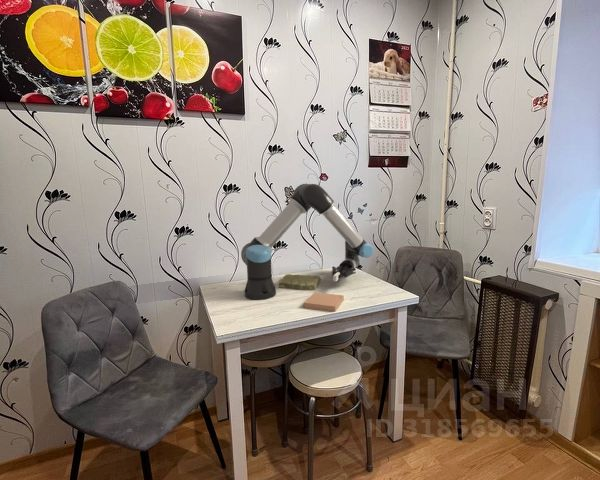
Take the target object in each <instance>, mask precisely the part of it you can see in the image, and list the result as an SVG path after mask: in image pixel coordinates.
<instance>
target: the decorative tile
mask: <svg viewBox="0 0 600 480" xmlns="http://www.w3.org/2000/svg"><path fill="white" fill-rule="evenodd" d="M321 279H322V278H321V275H313V274H311V275H310V274H291V273H287V274H285V275H284V276H283V277H282V278H281V279H280V281H279V283H278V289H289V290H299V291H316V290H317V288H318V286H319V285H320V282H321Z"/></svg>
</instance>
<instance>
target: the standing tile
mask: <svg viewBox="0 0 600 480" xmlns="http://www.w3.org/2000/svg"><path fill="white" fill-rule="evenodd" d="M344 301H345V295H341V294H335V293H334V294H333V293H332V294H331V293H326V292H325V293H324V292H314V293H312V294H311V295H310V296H309V297H308V298H307V299H306V300H305V301H304V302H303V308H305V309H313V310H319V311H327V312H335V313H336V312H337V310H338V309H339V308H340V307H341V305H342V303H343V302H344Z"/></svg>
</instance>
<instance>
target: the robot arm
mask: <svg viewBox="0 0 600 480" xmlns="http://www.w3.org/2000/svg"><path fill="white" fill-rule="evenodd" d="M311 208H312V209H314V210H315V211H316V212H317V213H318V214H319V215H322V216H323V217H324V218H325V219H326V220H327V221H328V222H329V223H330V224H331V226H332V227H333V228H334V229H335V231H337V233H338V234H340V236H341V237H342V238H343V239H344V240H345V241H344V247H345V248H344V250H345V255H344V257H345V258H344V260H342V261H341V262H340V264H339V265H338V266H332V268H331V269H332V270H331V273H332V275H331V276H332V277H333V279H332V280H333V282H337V281H338V280H339V279H342V278H348V277H350V276H351V275H354V274H356V273H357V272H356V271H357V270H356V268H358V266H359V265H360V262H361V259H360V257H361V258H365V259H368V258H371V257H372V255H374V251H375V250H374V247H373V245H372V244H370V243H369V242H367V241H366V240H365V239H364V238H363V237H362V236H361V234H360V233H359V232H358V231H357V230H356V229H355V228H354V226H353V225H352V224H351V222H349V220H348V219H347V218H346V217H345V216H344V215H343V213H342V212H341V211H340V210H339V208H338V207H337V206H336V205H335V201H334V199H333V198H332V197H331V196H330V195H329V194H328V192H327V191H326V190H325V189H324V188H323V187H322V186H321V185H319V184H316V183H302V184H299V185H298V186H297V187H295V189H294V191H293V194H291V197H289V203H288V204H287V205H286V206H285V207H284V209H283V210H282V211H280V212H279V214H278V215H277V216H276V217H275V219H273V221H272V222H271V223H270V224H269V225H268V227H266V228H265V230H264V231H263V232H262V233H261V234H260V235H259V236H255V237H253V239H252V240H251V241H250V242H248V243H246V244H245V245H244V246H243V247H242V249H241V251H240V255H241V257H240V258H241V260H242V262H243V263H244V264H245V266H246V271H247V272H246V274H247V275H246V276H247V279H246V284H245V288H244V297H245V298H246V299H249V300H257V301H260V300H267V299H271V298H273V297H275V296H276V295H277V289H276V286H275V282H274V281H273V274H272V272H273V271H272V252H273V250H272V249H273V247H274V246H275V245H276V243H277V242H279V240H280V239H281V238H282V237H283V235H285V233H287V231H288V230H289V229H290V228H291V226H293V224H294V223H296V221H297V220H298V219H299V217H300V216H301V215H303V214H307V213H308V211H309V210H310V209H311ZM359 256H360V257H359Z"/></svg>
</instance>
